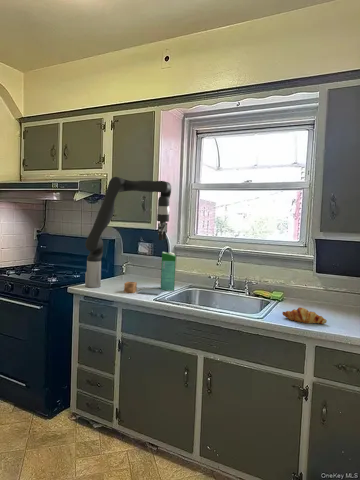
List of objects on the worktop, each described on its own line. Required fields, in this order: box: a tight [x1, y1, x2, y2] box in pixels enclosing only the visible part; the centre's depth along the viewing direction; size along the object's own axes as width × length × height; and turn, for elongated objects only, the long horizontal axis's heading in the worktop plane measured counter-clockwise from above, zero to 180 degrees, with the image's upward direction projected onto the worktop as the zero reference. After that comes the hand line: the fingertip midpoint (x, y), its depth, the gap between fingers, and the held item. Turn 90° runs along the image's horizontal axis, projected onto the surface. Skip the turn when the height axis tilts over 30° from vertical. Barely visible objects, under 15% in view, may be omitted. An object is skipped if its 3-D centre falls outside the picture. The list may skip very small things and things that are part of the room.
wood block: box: [123, 281, 138, 294], centre depth 226 cm, size 6×6×6 cm
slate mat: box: [137, 287, 164, 296], centre depth 228 cm, size 13×13×1 cm
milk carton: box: [160, 251, 177, 292], centre depth 239 cm, size 9×9×25 cm
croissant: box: [282, 307, 328, 325], centre depth 178 cm, size 21×10×8 cm, turn 65°
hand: (162, 239), depth 222 cm, fingers open, 8 cm apart
